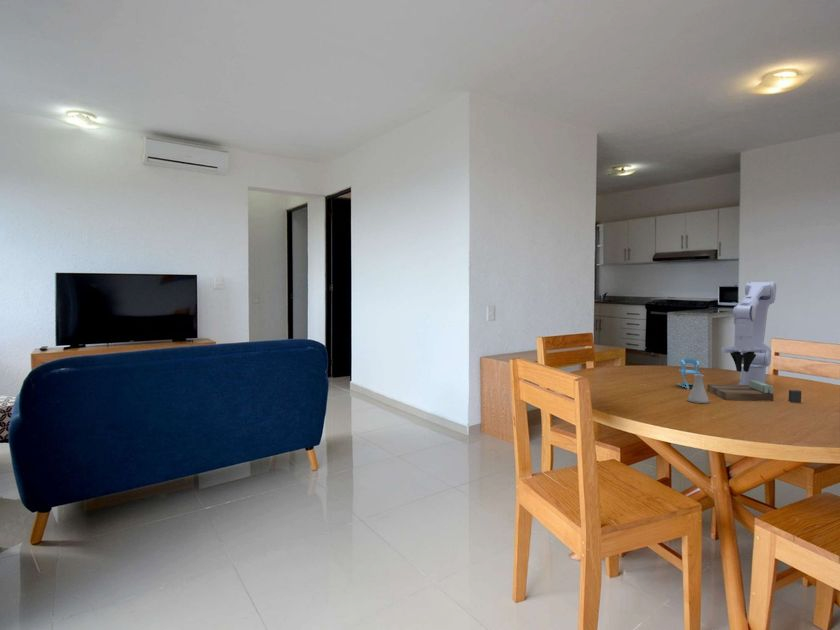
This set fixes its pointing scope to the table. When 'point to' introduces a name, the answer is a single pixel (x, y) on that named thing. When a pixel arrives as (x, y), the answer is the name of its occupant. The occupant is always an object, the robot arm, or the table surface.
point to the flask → (698, 391)
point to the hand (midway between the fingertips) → (742, 371)
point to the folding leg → (761, 386)
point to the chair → (684, 371)
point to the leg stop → (794, 396)
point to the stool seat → (739, 392)
